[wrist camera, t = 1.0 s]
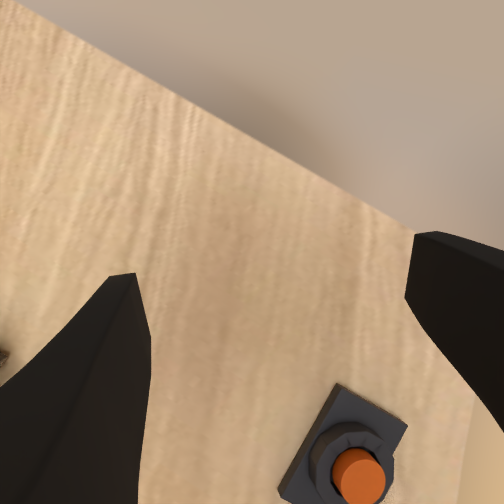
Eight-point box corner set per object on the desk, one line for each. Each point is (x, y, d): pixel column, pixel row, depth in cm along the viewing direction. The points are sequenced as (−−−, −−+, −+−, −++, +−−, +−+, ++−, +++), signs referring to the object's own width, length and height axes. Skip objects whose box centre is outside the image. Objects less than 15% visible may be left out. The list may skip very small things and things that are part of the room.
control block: (344, 523, 34) (360, 549, 31) (277, 489, 33) (286, 513, 30) (400, 419, 35) (421, 435, 32) (336, 382, 34) (351, 396, 31)
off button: (360, 500, 31) (370, 515, 30) (323, 481, 31) (332, 495, 29) (382, 459, 32) (394, 472, 30) (346, 440, 31) (356, 451, 29)
